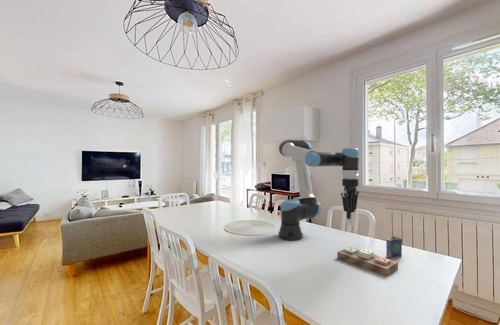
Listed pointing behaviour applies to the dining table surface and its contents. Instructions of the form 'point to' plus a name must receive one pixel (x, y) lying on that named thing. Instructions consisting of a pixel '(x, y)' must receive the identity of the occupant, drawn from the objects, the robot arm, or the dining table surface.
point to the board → (368, 262)
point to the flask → (394, 247)
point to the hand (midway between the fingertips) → (349, 224)
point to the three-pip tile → (383, 261)
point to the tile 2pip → (366, 254)
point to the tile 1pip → (351, 251)
